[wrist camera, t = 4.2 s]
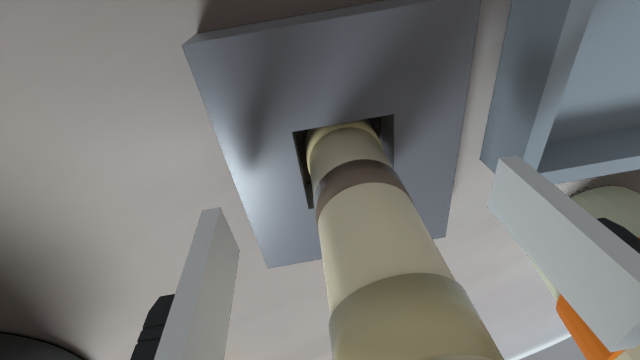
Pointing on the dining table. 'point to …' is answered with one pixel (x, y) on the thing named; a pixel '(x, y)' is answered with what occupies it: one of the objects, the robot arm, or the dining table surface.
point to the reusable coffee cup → (636, 217)
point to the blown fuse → (383, 259)
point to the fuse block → (337, 105)
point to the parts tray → (568, 89)
